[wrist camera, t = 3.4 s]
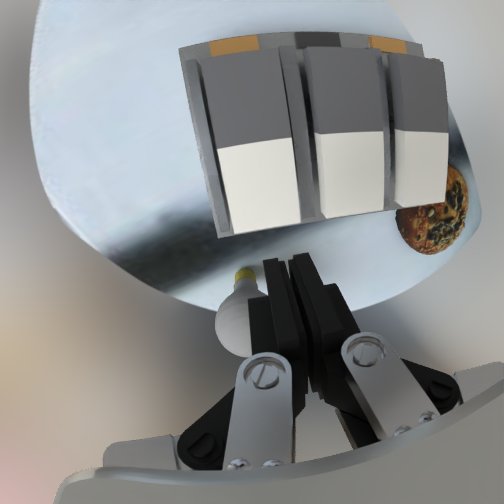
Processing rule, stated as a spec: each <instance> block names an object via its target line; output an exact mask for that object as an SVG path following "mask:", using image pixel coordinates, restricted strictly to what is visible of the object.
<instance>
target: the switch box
mask: <svg viewBox="0 0 504 504" xmlns="http://www.w3.org/2000/svg"><path fill="white" fill-rule="evenodd" d="M307 47H349V48H363V49H373V50H374V53H375V59H376V65H377V72H378V80H379V88H380V97H381V108H382V121H383V139H384V206H383V210H381V211H388V210H395V209H402V208H410V207H417V206H424V205H417V206H410V207H402V206H401V205H399V204H398V203H397V202H395V201H394V200H395V131H394V110H393V98H392V88H391V80H390V72H389V65H388V59H387V55H388V54H392V53H402V54H408V55H414V56H419V57H423V58H424V54H423V48H422V44H418V43H413V42H408V41H403V40H398V39H392V38H386V37H380V36H372V35H364V34H354V33H340V32H280V33H266V34H256V35H247V36H239V37H232V38H226V39H220V40H215V41H209V42H204V43H200V44H195V45H191V46H187V47H183V48H179V55H180V60H181V66H182V71H183V77H184V82H185V87H186V93H187V98H188V103H189V108H190V113H191V118H192V123H193V128H194V132H195V137H196V142H197V147H198V151H199V156H200V161H201V165H202V170H203V174H204V179H205V183H206V188H207V192H208V196H209V201H210V205H211V209H212V214H213V218H214V222H215V226H216V230H217V235H218V238H221V237H226V236H232V235H238V234H244V233H249V232H255V231H261V230H267V229H273V228H279V227H285V226H291V225H297V224H303V223H309V222H316V221H322V220H328V219H335V218H341V217H348V216H354V215H361V214H368V213H375V212H381V211H374V212H367V213H361V214H354V215H347V216H341V217H334V218H328V219H326V217H325V216H324V215H323V213H322V212H321V205H320V190H319V176H318V164H317V153H316V143H315V134H314V125H313V117H312V109H311V102H310V95H309V88H308V81H307V75H306V69H305V63H304V57H303V50H304V49H305V48H307ZM273 48H278V54H279V59H280V65H281V71H282V77H283V83H284V89H285V95H286V102H287V108H288V115H289V122H290V130H291V137H292V145H293V153H294V162H295V170H296V179H297V189H298V199H299V209H300V221H301V223H296V224H290V225H284V226H278V227H272V228H266V229H260V230H254V231H249V232H243V233H237V234H234V229H233V225H232V220H231V215H230V210H229V205H228V200H227V196H226V191H225V186H224V181H223V176H222V171H221V166H220V161H219V156H218V151H217V146H216V141H215V136H214V131H213V126H212V120H211V115H210V110H209V105H208V100H207V94H206V89H205V84H204V78H203V73H202V67H201V62H200V59H204V58H209V57H214V56H220V55H225V54H232V53H238V52H245V51H253V50H262V49H273ZM432 60H437V61H440V60H439V59H435V58H434V59H433V58H432ZM425 205H427V204H425Z"/></svg>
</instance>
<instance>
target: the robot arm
mask: <svg viewBox="0 0 504 504" xmlns="http://www.w3.org/2000/svg"><path fill="white" fill-rule="evenodd" d="M288 264H289V274H290V278H289V275H288V272H287V269H286V265H285V262H284V261H278V258H273V259H267V260H263V265H264V271H265V277H266V283H267V289H268V296H262V297H255V298H249V299H248V312H249V325H250V337H251V350H252V356H250V357H249V358H248V359H246V360H245V361H244V362H243V363H242V365H241V366H240V367H239V370H238V374H237V380H236V386H235V387H234V388H233V389H232V390H231V391H230V392H229V393H228V394H226V395H225V396H224V397H223V398H222V399H221V400H220V401H219V402H218V403H217V404H215V405H214V406H213V407H212V408H211V409H210V410H209V411H207V412H206V413H205V414H204V415H203V416H202V417H201V418H199V419H198V420H197V421H196V422H195V423H194V424H192V425H191V426H190V427H189V428H188V429H186V430H185V431H184V432H183V434H182V435H178V436H172V435H171V434H170V435H164V436H159V437H152V438H146V439H139V440H131V441H122V442H116V443H113V444H111V445H110V446H109V447H108V448H107V449H106V450H105V452H104V455H103V467H98V468H90V469H86V470H82V471H79V472H76V473H74V474H72V475H70V476H68V477H67V478H66V479H65V480H64V481H63V482H62V483H61V485H60V487H59V488H58V491H57V493H56V496H55V500H54V503H53V504H504V363H501V362H493V363H490V364H486V365H482V366H479V367H475V368H471V369H467V370H463V371H459V372H455V373H454V375H453V376H450V375H448V374H446V373H443V372H440V371H437V370H434V369H431V368H428V367H425V366H422V365H419V364H416V363H413V362H410V361H408V360H405V359H401V358H399V356H398V355H397V354H396V352H395V351H394V349H393V348H392V347H391V346H390V344H389V343H388V342H387V341H386V340H385V339H384V338H383V337H382V336H380V335H378V334H375V333H370V332H360V330H359V328H358V326H357V324H356V322H355V319H354V318H353V316H352V314H351V311H350V309H349V307H348V305H347V303H346V301H345V300H344V298H343V296H342V294H341V292H340V290H339V288H338V286H337V285H336V284H335V283H333V284H328V285H323V282H322V280H321V278H320V276H319V274H318V272H317V270H316V267H315V265H314V263H313V261H312V259H311V257H310V255H309V253H302V254H297V255H293V259H291V260H288ZM308 377H309V381H310V385H311V389H312V392H313V393H314V392H318V394H319V397H320V399H324V400H325V403H328V404H330V405H332V406H334V410H335V413H336V415H337V417H338V419H339V421H340V423H341V425H342V427H343V430H344V432H345V434H346V436H347V438H348V440H349V442H350V444H351V446H352V448H353V450H351V451H348V452H344V453H341V454H336V455H332V456H328V457H324V458H319V459H315V460H310V461H304V462H299V463H295V457H296V417H297V416H298V415H299V413H300V412H301V411H302V410H303V409H304V407H305V394H308Z"/></svg>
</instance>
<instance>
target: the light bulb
mask: <svg viewBox="0 0 504 504" xmlns="http://www.w3.org/2000/svg"><path fill="white" fill-rule="evenodd" d="M262 296H267V295H266V294H264V293H262V292H260V291H259V290H258V285H257V283H256V278H255V275H254V273H253V272H252V271H251V270H249V269H241V270H239V271H238V272H237V273H236V275H235V284H234V292H233V293H232V294H231V295H230V296H228V297H227V298H226V299H225V300H224V301H223V302H222V304H221V305H220V307H219V309H218V312H217V314H216V318H215V329H216V333H217V336H218V338H219V340H220V342H221V343H222V344H223V346H224V347H225V348H226V349H227V350H229V351H230V352H232V353H234V354H236V355H238V356H242V357H250V356H252V350H251V337H250V325H249V312H248V299H249V298H255V297H262Z"/></svg>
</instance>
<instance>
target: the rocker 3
mask: <svg viewBox="0 0 504 504" xmlns="http://www.w3.org/2000/svg"><path fill="white" fill-rule="evenodd" d="M387 59H388V65H389V72H390V80H391V88H392V98H393V110H394V131H395V200H394V201H395V202H397V203H398V204H399V205H401V206H402V207H410V206H417V205H425V204H432V203H440V202H445V192H446V182H447V167H448V105H447V92H446V81H445V73H444V66H443V62H441V61H437V60H432V59H428V58H423V57H419V56H414V55H408V54H402V53H392V54H388V55H387Z"/></svg>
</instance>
